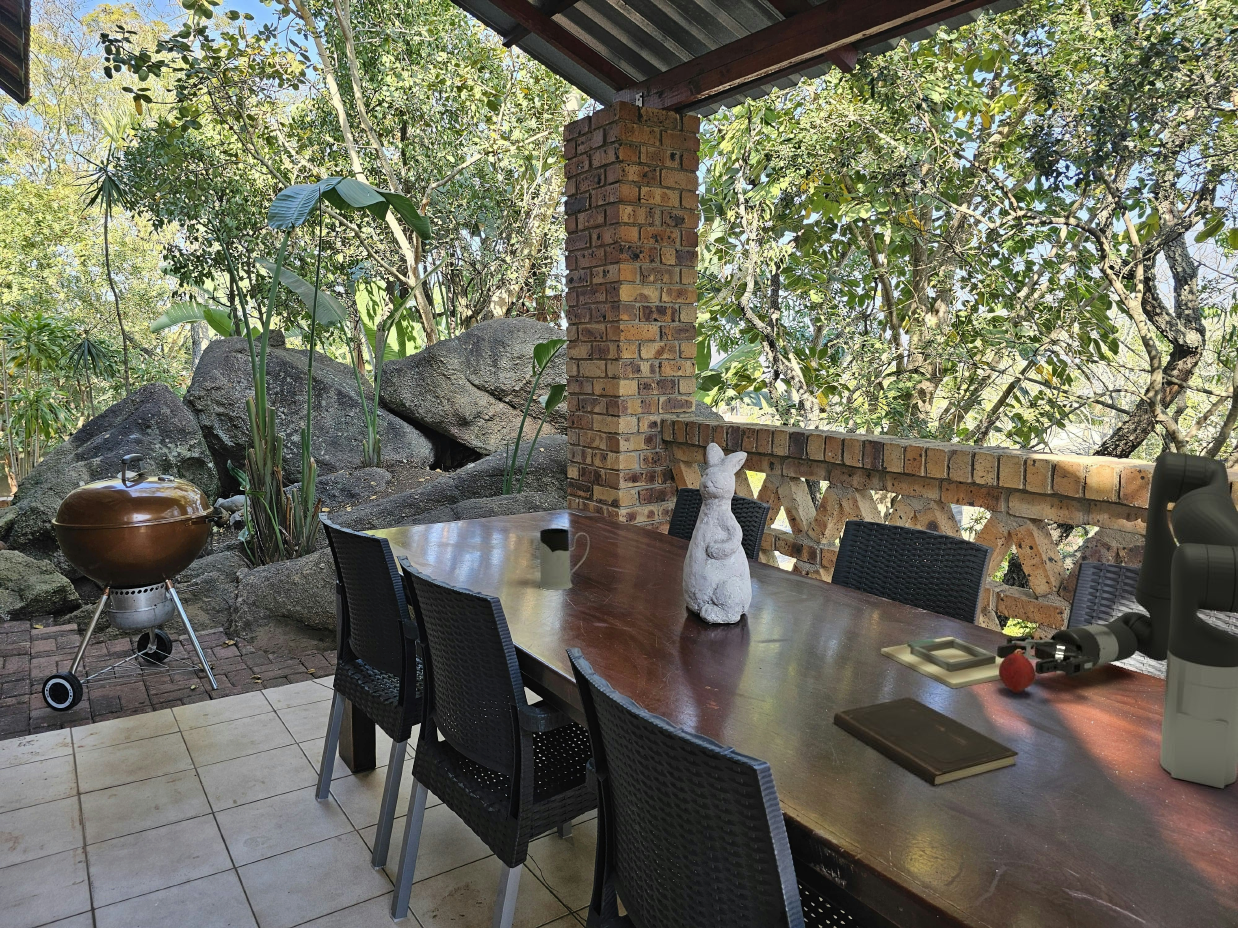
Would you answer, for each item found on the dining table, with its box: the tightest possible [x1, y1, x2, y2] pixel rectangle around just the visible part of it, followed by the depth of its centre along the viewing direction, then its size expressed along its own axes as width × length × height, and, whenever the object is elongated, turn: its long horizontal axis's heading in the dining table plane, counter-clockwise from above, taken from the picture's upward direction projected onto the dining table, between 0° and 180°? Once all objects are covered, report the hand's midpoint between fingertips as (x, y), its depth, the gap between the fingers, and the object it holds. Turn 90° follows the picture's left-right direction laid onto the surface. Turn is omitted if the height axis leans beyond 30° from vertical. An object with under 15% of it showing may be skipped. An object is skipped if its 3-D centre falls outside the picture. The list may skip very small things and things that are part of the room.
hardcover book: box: [833, 696, 1020, 787], centre depth 134 cm, size 16×23×2 cm
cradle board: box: [880, 636, 1005, 689], centre depth 168 cm, size 20×18×2 cm
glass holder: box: [539, 527, 590, 591], centre depth 227 cm, size 9×14×15 cm, turn 115°
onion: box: [999, 649, 1036, 694], centre depth 153 cm, size 6×6×8 cm
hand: (1017, 660), depth 152 cm, fingers open, 8 cm apart
